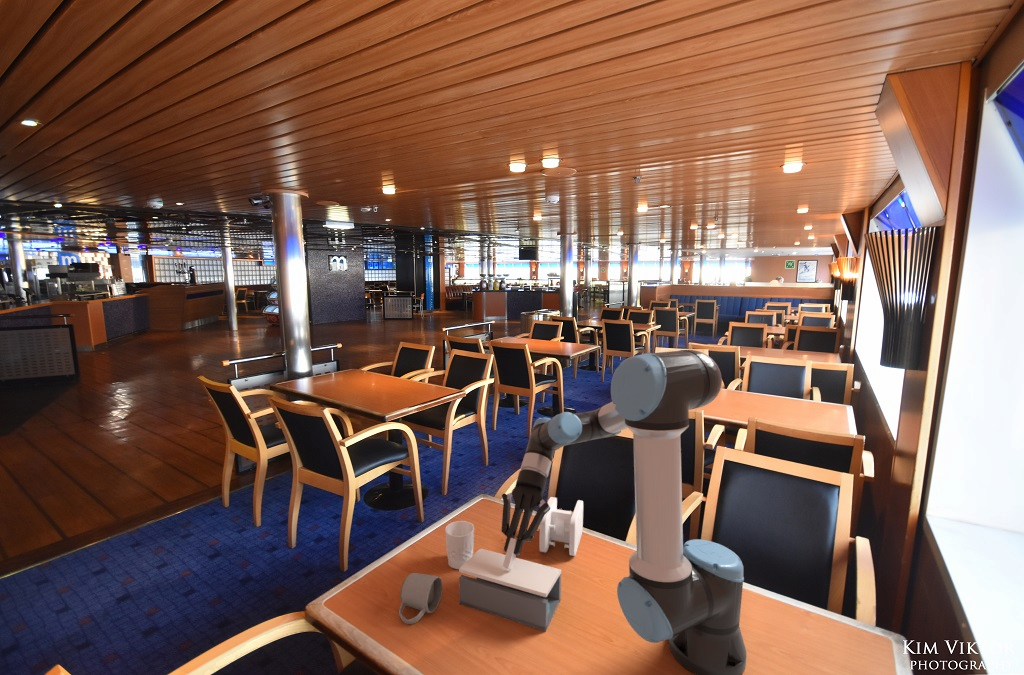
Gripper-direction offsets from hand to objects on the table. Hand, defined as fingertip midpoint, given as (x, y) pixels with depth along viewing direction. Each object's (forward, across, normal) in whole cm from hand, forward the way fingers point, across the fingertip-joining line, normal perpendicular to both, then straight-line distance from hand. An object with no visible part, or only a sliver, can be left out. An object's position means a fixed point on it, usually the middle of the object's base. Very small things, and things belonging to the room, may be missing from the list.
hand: (507, 568), depth 112 cm
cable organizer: (-14, -4, -28) cm, 32 cm away
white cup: (0, +19, -15) cm, 24 cm away
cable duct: (+6, 0, -8) cm, 10 cm away
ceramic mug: (+14, +19, -1) cm, 23 cm away
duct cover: (0, 0, -3) cm, 3 cm away
